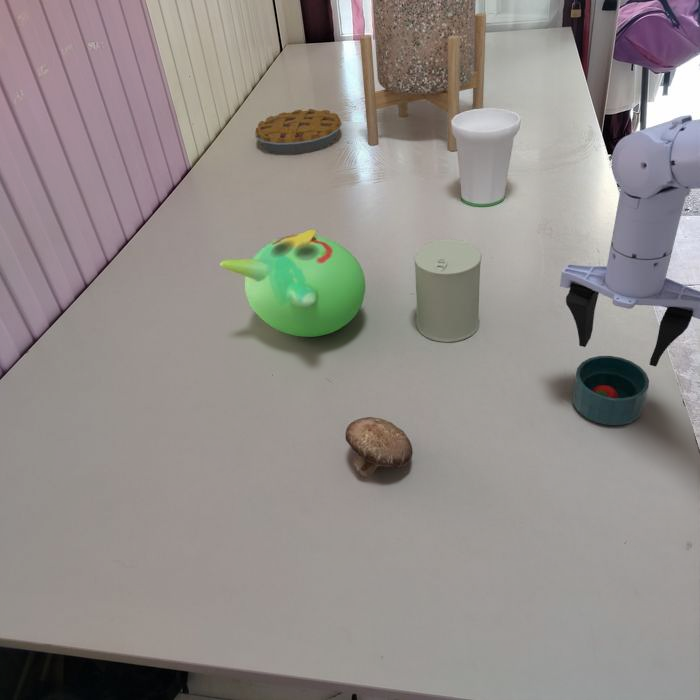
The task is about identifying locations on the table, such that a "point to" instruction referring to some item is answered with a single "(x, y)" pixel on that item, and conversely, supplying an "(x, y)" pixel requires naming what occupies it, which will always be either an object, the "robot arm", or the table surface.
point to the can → (447, 290)
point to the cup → (484, 153)
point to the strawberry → (605, 391)
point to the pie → (298, 131)
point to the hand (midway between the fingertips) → (619, 351)
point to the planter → (423, 57)
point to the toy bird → (302, 284)
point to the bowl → (621, 378)
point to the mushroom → (377, 445)
